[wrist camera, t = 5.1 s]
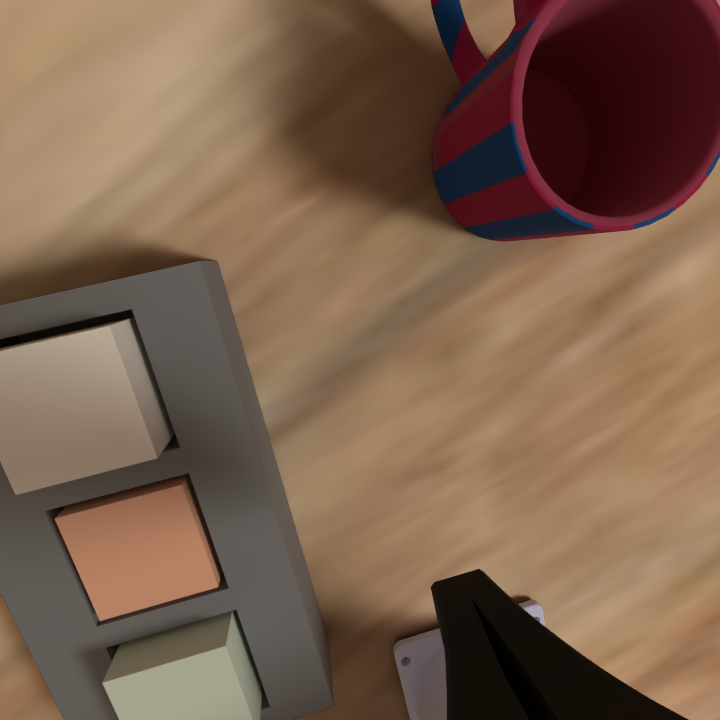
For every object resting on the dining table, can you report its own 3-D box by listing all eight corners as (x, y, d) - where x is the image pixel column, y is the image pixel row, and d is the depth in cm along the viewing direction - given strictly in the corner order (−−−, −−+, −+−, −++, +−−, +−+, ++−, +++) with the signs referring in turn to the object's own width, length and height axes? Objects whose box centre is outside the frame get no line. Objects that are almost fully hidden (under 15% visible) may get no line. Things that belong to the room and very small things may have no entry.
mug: (481, 272, 19) (577, 278, 13) (354, 48, 17) (391, -90, 10) (609, 184, 19) (772, 144, 13) (500, -55, 17) (634, -260, 10)
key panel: (328, 640, 22) (334, 706, 19) (126, 702, 21) (95, 782, 18) (217, 260, 18) (199, 261, 14) (-46, 319, 17) (-130, 334, 14)
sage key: (262, 683, 19) (258, 736, 17) (160, 715, 19) (143, 772, 17) (233, 601, 18) (225, 646, 16) (125, 632, 18) (102, 682, 16)
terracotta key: (227, 550, 19) (218, 587, 17) (122, 579, 19) (100, 621, 16) (195, 458, 18) (181, 484, 16) (83, 487, 17) (54, 518, 15)
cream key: (175, 432, 16) (157, 458, 14) (52, 463, 16) (15, 495, 14) (135, 316, 15) (109, 325, 13) (2, 347, 15) (-46, 361, 13)
